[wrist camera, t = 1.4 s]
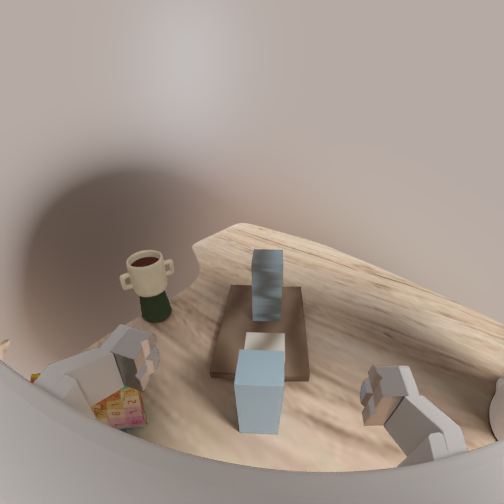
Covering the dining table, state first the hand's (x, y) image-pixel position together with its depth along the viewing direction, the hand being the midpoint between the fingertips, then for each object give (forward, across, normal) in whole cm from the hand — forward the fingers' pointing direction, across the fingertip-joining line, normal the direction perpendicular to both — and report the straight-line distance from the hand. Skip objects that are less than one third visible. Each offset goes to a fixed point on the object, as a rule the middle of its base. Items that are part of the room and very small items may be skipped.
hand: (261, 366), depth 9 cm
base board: (+34, +1, +25) cm, 42 cm away
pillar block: (+15, -1, +26) cm, 30 cm away
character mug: (+34, +23, +27) cm, 49 cm away
